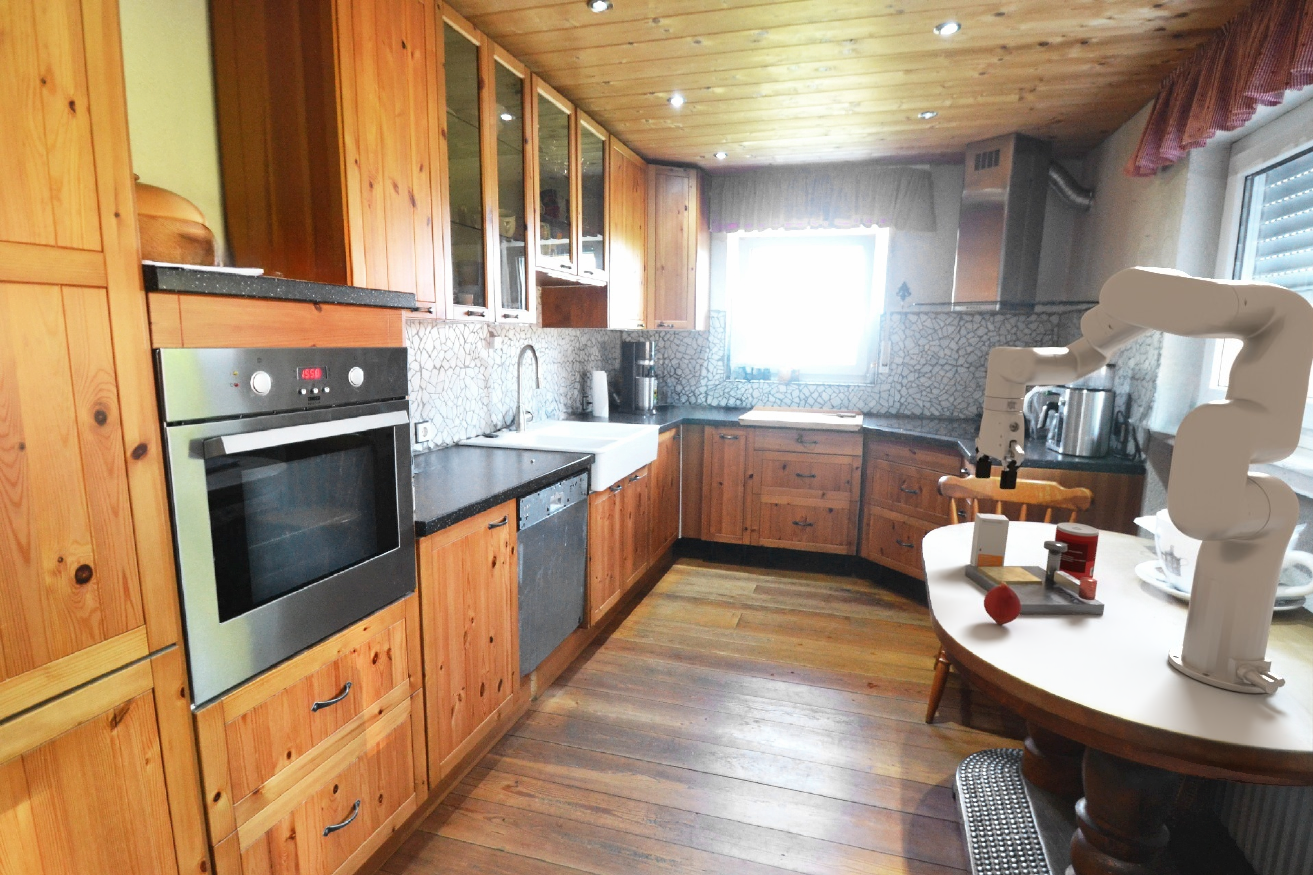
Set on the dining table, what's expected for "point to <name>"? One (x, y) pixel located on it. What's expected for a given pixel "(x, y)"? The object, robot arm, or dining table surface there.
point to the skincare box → (989, 540)
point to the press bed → (1037, 586)
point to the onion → (1002, 604)
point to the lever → (1077, 585)
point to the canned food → (1077, 549)
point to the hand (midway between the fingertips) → (994, 483)
